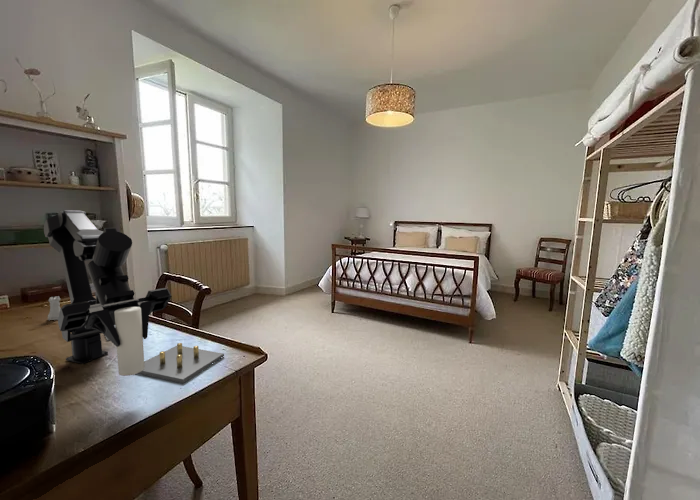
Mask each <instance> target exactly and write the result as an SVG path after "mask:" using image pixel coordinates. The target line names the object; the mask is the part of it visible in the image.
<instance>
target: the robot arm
mask: <svg viewBox="0 0 700 500" xmlns="http://www.w3.org/2000/svg"><path fill="white" fill-rule="evenodd" d="M43 233H44V236H45V238H48V244H49V245H50V247H52V248H54V250H56V251H57V252H59V255H60V259H61V263H62V267H63V272H64V277H65V282H66V285H67V290H68V295H69V299H70V300H69V301H70V303H67V304H63V305H62V307H60V313H59V317H58V320H57V323H58V324H57V325H58V328H59V330H60V332H61V335H62V339H63V340H64V341H65V342H67V343H69V342H71V354H72V355H70V356H68V357H65V361H68V362H72V363H76V364H81V365H82V364H83V365H84V364H86V363H88V362H91V361H92V360H95V359H99V358H100V357H103V356H105V355H108V353H109V352H108V351H105V350H103V345H102V344H103V343H102V339H101V337H102V336H101V335H102V334H103V335H104V336H106V337H107V338H108V339H109V341H110V342H111V343H112V344H113V345H114V346H115V347H116V348H117V347H119V346H120V340H119V336H118V333H117V331H116V328H115V326H114V325H115V314H114V311H116V310H118V309H121V308H126V307H140V308H141V316H142V333H143V340H146V339H148V332H149V320H150V315H151V314H152V313H154V312H158V311H162V310H164V309H166V307H167V306H168V303H169V302H170V300H171V299H172V294H171V292H170V290H169V289H168V288H166V287H163V288H157V289H151V290H148V291H147V294H146V295H145V297H141V298H134V295H136V294H135V291H134V289H132V290H131V287H130V285H129V283H128V282H129V281H128V280H129V275H127V274H126V275H125V273H124V270H123V268H122V266H123V265H125V264H126V262H127V258H128V257H129V254H130V251H131V248H132V246H133V240H132V238H131V237H130V236H128V235H127V234H125V233H123V232H120V231H117V229H116V227H104V229H103V230H99V229H98V227H96V225H94V223H93V222H92V221H91V220H90V219H89V218H88V215H87V213H86V211H83V210H79V209H77V210H76V209H75V210H74V209H63V210H60V211H58V213H57V214H55V215H53V216H50V217H48V218H46V219H45V222H44V224H43ZM86 261H87V262H88V261H89V262H88V264H87V265H86ZM87 270H88V271H87ZM88 273H89V275H88ZM89 277H90V279H91V282H92V285H93V288H94V291H95V293H94V296H95V297H94V296H93V292H92V289H91V288H92V287H91V283H90V279H89ZM106 337H105V338H106Z"/></svg>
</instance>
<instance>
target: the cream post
mask: <svg viewBox="0 0 700 500" xmlns="http://www.w3.org/2000/svg"><path fill="white" fill-rule="evenodd" d="M114 314H115V328H116V331H117V333H118V336H119V340H120V346H119V347H116V354H117V355H116V356H117V367H118V368H117V369H118V375H119V376H121V377H125V376H126V377H128V376H133V375H136V374H138V373H139V372H141V371H142V370H144V368H145V366H144V361H145V355H144V354H145V353H144V352H145V351H144V350H145V349H144V338H143V333H142V316H141V308H140V307H126V308H121V309H118V310H116V311H114Z"/></svg>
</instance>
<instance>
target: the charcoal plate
mask: <svg viewBox="0 0 700 500" xmlns="http://www.w3.org/2000/svg"><path fill="white" fill-rule="evenodd" d="M223 356H224V357H225V353H223V352H219V351H211V350H206V349H201V348H199V345H194V346H193V347H190V346H183V343H182V342H179V343H177V344H176V345H175V346H173V347H171V348H169V349H168V350H165V351H164V350H163V351H160V352H159V354H157V355H155V356H152V357H150V358H149V359H146V360H144V366H145V368H144V370H142V371H141V372H139V373H137V374H139V375H142V376H143V375H144V376H149V377H153V378H156V379H161V380H167V381H170V382H175V383H180V384H185V383H186V382H188V381H190V379H192V378H194V377H195V376H196V375H199V374H201V373H202V372H203V371H205V370H206V369H208V368H209V367H210V366H209V365H211V364H212V363H214V362H216V361H217V360H219V359H220V358H221V357H223ZM224 357H223V358H224ZM220 360H221V359H220ZM220 360H219V361H220ZM217 362H218V361H217ZM217 362H216V363H217ZM214 364H215V363H214ZM212 365H213V364H212ZM212 365H211V366H212ZM208 366H209V367H208ZM207 367H208V368H207ZM205 368H206V369H205ZM204 369H205V370H204ZM202 370H203V371H202ZM201 371H202V372H201ZM198 373H199V374H198Z"/></svg>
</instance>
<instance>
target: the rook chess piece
mask: <svg viewBox="0 0 700 500" xmlns="http://www.w3.org/2000/svg"><path fill="white" fill-rule="evenodd" d="M61 300H62V299H61V298H60V296H59V295H58V296H51V297H48V300H47V301H48V302H49V304H48V305H49V307H50V308H49V312H48V315H47V320H48V321H50V320H54V321H58V317H59V313H60V309H61V306H60V304H61V302H60V301H61Z"/></svg>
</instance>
